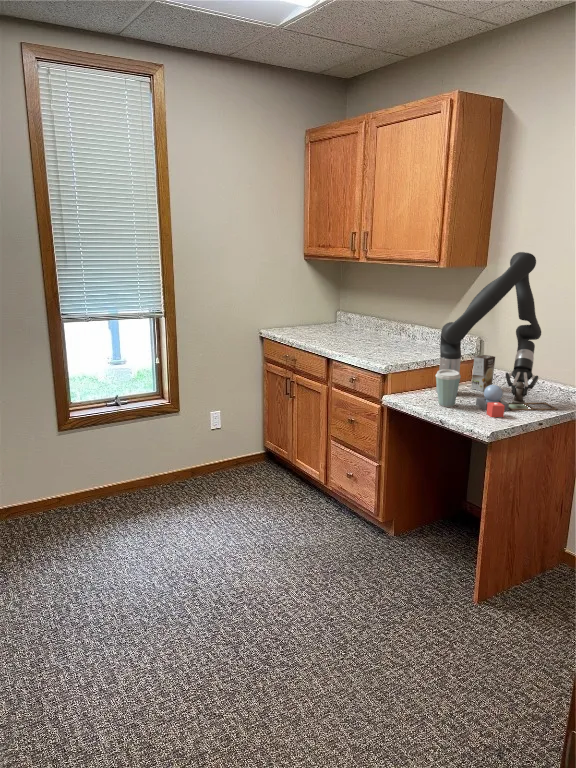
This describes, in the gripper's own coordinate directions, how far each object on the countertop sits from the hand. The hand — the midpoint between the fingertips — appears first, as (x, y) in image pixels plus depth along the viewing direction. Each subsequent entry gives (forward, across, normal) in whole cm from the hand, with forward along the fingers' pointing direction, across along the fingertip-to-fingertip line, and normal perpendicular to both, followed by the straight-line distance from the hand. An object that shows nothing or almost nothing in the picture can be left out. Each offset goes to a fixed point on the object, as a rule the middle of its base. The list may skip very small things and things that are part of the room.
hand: (518, 394), depth 240 cm
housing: (+7, -10, +2) cm, 12 cm away
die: (+16, -8, -7) cm, 19 cm away
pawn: (+1, 0, +4) cm, 5 cm away
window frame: (+1, +4, +7) cm, 9 cm away
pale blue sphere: (+6, -10, 0) cm, 12 cm away
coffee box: (-16, -18, +24) cm, 34 cm away
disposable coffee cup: (+11, -28, -3) cm, 31 cm away
